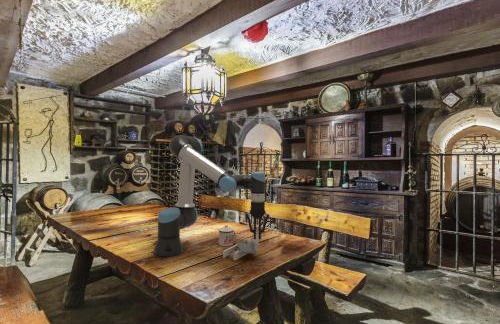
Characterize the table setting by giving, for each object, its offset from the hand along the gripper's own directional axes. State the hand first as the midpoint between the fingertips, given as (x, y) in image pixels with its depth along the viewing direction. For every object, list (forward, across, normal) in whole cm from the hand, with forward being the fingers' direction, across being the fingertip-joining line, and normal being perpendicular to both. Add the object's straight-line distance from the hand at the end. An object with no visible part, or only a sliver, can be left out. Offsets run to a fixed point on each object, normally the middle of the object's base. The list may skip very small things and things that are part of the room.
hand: (257, 245), depth 146 cm
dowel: (+6, -12, +2) cm, 14 cm away
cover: (+2, -6, +3) cm, 7 cm away
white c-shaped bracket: (+6, -10, +4) cm, 13 cm away
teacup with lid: (+7, -17, +23) cm, 29 cm away
